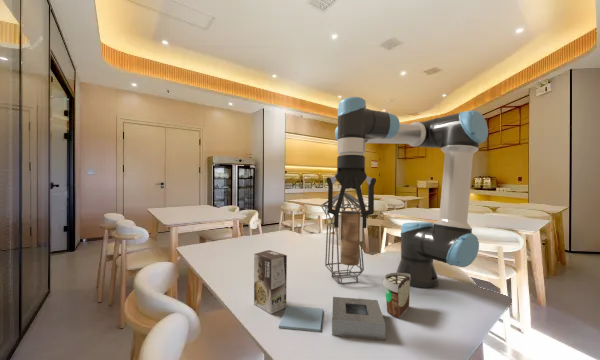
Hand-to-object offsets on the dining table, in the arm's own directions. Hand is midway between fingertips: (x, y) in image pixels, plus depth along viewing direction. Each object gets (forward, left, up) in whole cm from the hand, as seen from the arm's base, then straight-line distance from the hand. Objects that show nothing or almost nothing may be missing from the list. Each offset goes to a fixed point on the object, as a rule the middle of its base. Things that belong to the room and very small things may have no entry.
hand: (349, 239), depth 71 cm
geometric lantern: (+1, -33, -23) cm, 40 cm away
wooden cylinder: (0, 0, -6) cm, 6 cm away
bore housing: (-2, 0, -23) cm, 23 cm away
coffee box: (+24, -6, -23) cm, 34 cm away
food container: (-14, -10, -23) cm, 29 cm away
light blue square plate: (+13, 0, -23) cm, 26 cm away
